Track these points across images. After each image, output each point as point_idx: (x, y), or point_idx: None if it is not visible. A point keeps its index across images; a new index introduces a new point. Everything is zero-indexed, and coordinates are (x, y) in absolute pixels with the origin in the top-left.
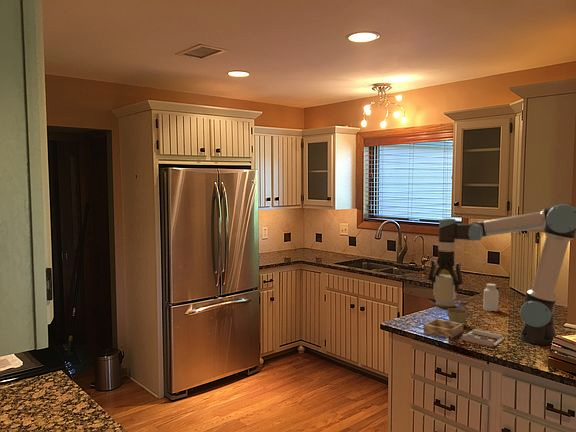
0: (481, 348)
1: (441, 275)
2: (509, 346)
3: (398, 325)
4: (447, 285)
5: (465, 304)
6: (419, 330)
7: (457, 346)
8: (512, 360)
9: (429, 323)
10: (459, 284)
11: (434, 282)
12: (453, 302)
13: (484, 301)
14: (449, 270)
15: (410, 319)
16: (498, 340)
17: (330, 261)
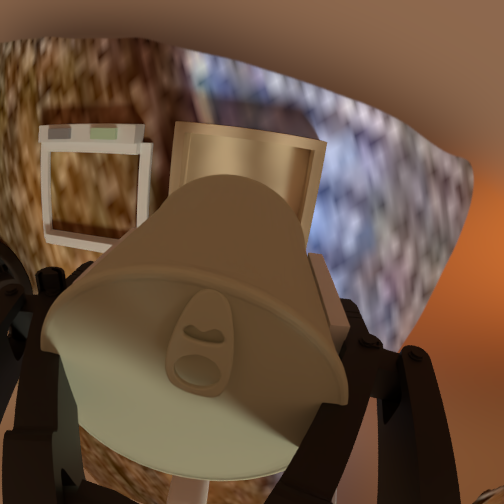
0: (71, 82)
1: (259, 440)
2: (19, 170)
3: (432, 185)
4: (129, 235)
5: (261, 480)
6: (342, 156)
7: (143, 39)
8: (3, 53)
9: (308, 184)
10: (20, 286)
11: (340, 328)
12: (284, 471)
13: (202, 482)
14: (27, 450)
15: (401, 293)
16: (46, 198)
17: (496, 495)
